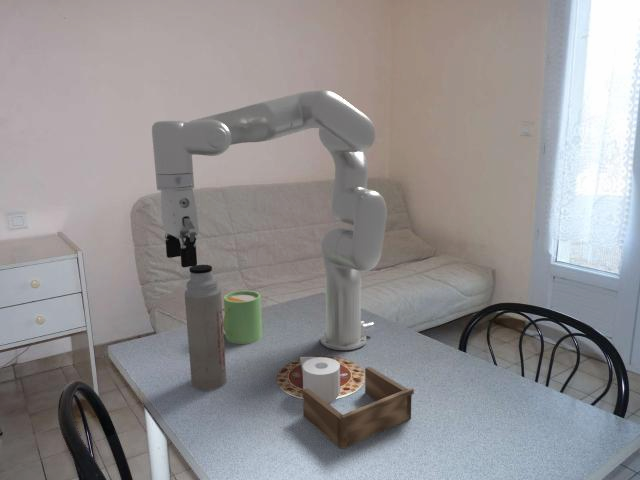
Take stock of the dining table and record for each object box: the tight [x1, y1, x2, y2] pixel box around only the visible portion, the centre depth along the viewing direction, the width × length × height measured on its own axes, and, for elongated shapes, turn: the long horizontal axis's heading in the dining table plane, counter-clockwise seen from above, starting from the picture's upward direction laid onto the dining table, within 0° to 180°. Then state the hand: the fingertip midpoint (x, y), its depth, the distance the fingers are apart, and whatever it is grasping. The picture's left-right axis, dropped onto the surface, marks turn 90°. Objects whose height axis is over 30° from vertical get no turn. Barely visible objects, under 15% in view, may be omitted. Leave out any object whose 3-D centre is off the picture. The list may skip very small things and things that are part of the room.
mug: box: [222, 290, 263, 345], centre depth 142 cm, size 13×10×12 cm
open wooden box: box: [302, 366, 415, 450], centre depth 102 cm, size 17×14×7 cm
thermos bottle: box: [184, 264, 227, 392], centre depth 116 cm, size 8×8×28 cm
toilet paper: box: [299, 356, 341, 404], centre depth 113 cm, size 8×11×7 cm
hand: (181, 261), depth 109 cm, fingers open, 9 cm apart
